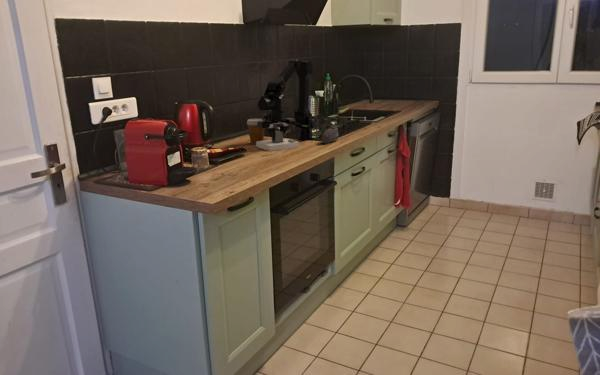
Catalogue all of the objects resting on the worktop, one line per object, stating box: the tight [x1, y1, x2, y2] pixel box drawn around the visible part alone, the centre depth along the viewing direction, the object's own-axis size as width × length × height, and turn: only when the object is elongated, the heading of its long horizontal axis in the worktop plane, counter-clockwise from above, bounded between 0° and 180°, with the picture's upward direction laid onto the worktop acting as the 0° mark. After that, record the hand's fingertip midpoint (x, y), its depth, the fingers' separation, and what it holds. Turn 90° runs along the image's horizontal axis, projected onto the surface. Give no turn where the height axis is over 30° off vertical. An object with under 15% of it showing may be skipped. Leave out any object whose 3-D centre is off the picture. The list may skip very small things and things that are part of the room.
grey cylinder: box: [271, 130, 284, 143], centre depth 238 cm, size 4×4×6 cm
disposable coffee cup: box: [246, 118, 266, 146], centre depth 247 cm, size 10×10×12 cm
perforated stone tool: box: [320, 126, 340, 144], centre depth 248 cm, size 15×5×7 cm, turn 146°
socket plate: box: [255, 137, 300, 152], centre depth 239 cm, size 16×14×3 cm
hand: (277, 140), depth 239 cm, fingers closed on grey cylinder, 4 cm apart
